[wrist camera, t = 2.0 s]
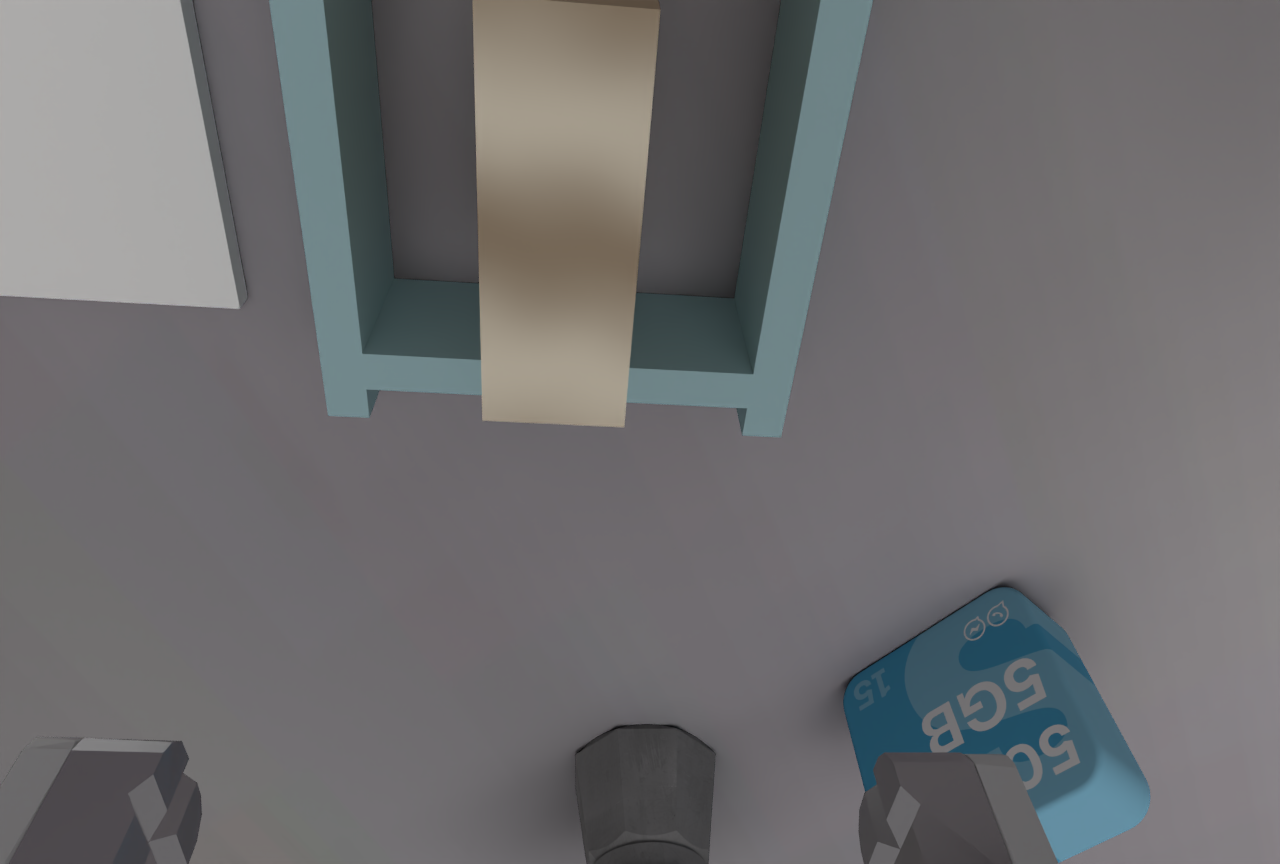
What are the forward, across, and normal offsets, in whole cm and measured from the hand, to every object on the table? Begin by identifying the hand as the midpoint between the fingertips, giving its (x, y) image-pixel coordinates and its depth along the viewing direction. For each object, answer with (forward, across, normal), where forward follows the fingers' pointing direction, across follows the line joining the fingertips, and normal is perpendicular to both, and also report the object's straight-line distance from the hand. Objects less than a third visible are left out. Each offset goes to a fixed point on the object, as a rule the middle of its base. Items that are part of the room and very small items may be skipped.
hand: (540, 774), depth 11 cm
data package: (+28, -22, +28) cm, 46 cm away
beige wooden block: (+28, 0, 0) cm, 28 cm away
